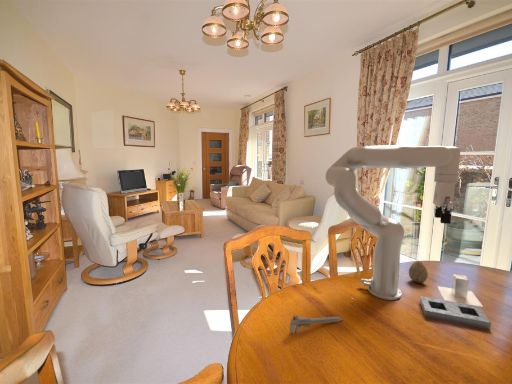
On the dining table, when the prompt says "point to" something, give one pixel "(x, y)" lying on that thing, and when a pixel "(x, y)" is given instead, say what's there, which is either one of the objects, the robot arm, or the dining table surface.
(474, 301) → the tile
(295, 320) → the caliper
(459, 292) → the steel block
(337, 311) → the dining table surface
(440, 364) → the dining table surface
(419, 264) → the decorative egg
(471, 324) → the block with square recesses
